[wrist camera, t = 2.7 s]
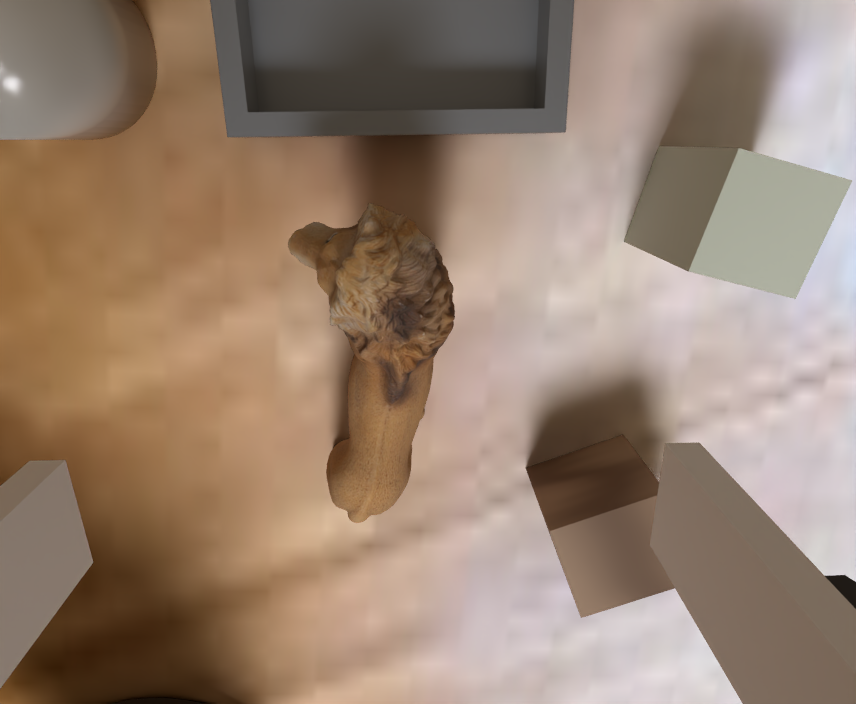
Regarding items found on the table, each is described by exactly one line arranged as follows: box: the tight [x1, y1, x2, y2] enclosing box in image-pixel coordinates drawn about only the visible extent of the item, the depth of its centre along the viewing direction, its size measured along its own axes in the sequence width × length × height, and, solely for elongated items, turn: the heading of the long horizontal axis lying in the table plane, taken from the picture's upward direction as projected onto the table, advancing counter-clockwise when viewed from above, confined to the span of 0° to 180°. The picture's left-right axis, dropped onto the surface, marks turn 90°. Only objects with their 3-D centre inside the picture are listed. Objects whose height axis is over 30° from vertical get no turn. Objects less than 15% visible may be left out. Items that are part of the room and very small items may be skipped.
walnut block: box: [526, 435, 675, 618], centre depth 27 cm, size 5×5×5 cm
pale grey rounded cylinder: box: [0, 0, 157, 140], centre depth 19 cm, size 6×6×6 cm
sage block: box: [624, 146, 852, 299], centre depth 22 cm, size 4×4×6 cm
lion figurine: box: [288, 203, 455, 523], centre depth 22 cm, size 15×5×9 cm, turn 179°
